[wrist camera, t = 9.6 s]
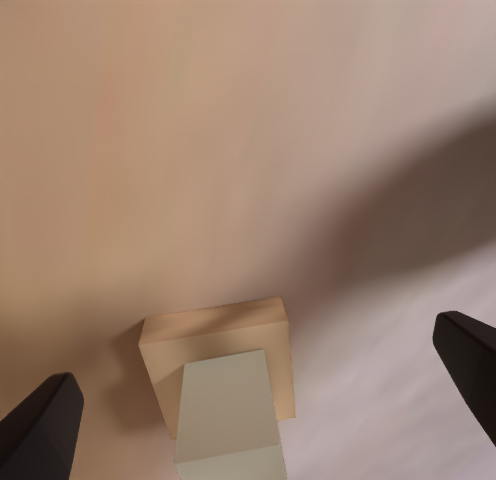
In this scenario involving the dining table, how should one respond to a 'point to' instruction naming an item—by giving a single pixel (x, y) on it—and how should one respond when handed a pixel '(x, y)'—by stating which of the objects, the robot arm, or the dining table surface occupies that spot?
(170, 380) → the oak block
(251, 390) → the sage cube
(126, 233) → the dining table surface
